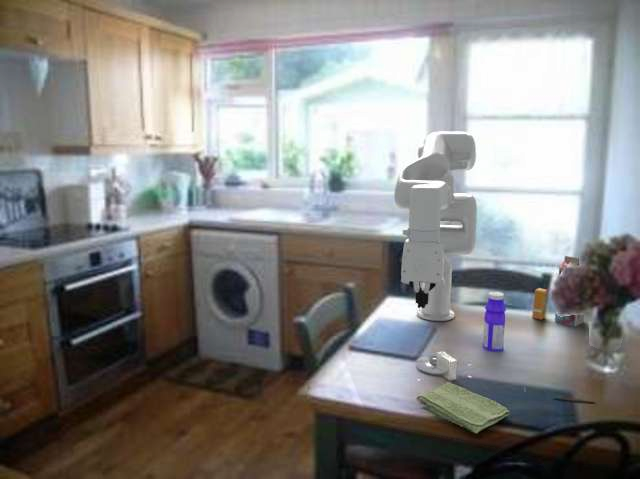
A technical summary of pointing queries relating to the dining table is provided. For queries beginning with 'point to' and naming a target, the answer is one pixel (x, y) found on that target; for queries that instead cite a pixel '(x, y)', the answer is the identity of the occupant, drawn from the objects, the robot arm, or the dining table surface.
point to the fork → (572, 399)
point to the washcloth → (463, 407)
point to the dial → (438, 365)
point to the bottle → (494, 322)
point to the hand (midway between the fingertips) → (421, 306)
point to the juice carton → (572, 319)
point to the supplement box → (539, 303)
